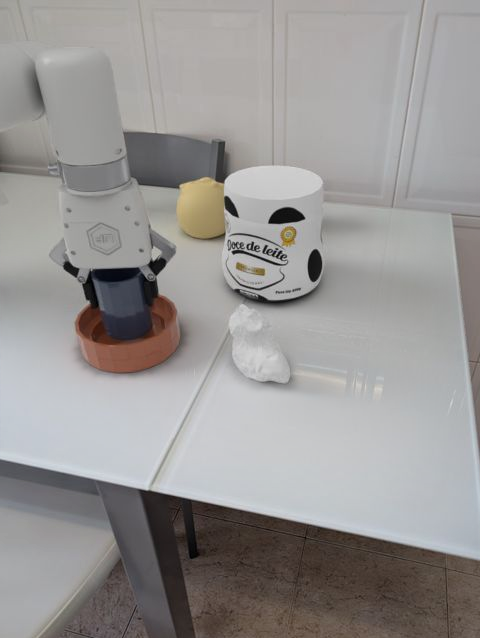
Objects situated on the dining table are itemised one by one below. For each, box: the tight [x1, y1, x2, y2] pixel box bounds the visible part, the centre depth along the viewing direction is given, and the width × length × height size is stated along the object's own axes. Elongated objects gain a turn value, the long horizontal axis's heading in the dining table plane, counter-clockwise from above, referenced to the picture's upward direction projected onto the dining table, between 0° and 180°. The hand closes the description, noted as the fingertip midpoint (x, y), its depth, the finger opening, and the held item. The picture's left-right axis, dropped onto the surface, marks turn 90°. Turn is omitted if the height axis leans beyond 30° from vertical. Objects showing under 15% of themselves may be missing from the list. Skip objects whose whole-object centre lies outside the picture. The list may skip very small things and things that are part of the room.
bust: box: [228, 303, 291, 385], centre depth 65 cm, size 12×8×11 cm
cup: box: [91, 267, 153, 340], centre depth 68 cm, size 7×7×9 cm
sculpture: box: [175, 176, 226, 240], centre depth 100 cm, size 12×12×11 cm
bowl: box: [74, 293, 181, 374], centre depth 71 cm, size 14×14×5 cm
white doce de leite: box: [221, 164, 326, 303], centre depth 81 cm, size 17×17×18 cm
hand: (124, 301), depth 68 cm, fingers closed on cup, 6 cm apart
